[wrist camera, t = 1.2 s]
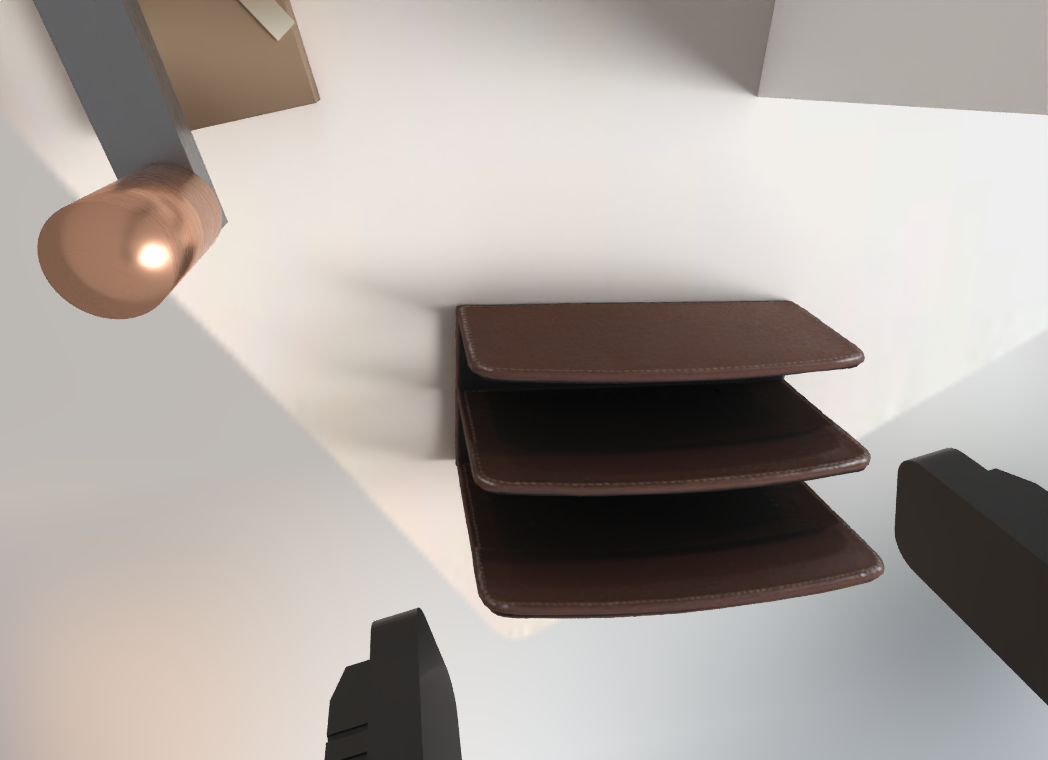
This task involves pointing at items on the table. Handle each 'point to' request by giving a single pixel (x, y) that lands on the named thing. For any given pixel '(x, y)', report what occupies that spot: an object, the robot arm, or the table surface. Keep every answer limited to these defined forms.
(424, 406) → the table surface
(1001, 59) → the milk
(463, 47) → the table surface
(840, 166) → the table surface
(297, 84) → the press bench
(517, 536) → the letter holder
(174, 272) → the lever
